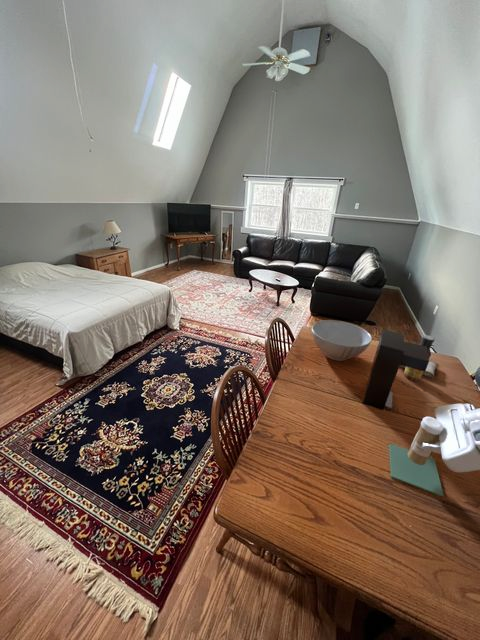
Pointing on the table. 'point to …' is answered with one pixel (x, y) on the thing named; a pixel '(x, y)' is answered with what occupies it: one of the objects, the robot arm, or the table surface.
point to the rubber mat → (414, 471)
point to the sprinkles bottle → (425, 439)
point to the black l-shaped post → (391, 367)
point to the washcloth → (427, 369)
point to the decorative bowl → (340, 339)
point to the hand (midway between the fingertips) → (422, 440)
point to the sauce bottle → (427, 341)
